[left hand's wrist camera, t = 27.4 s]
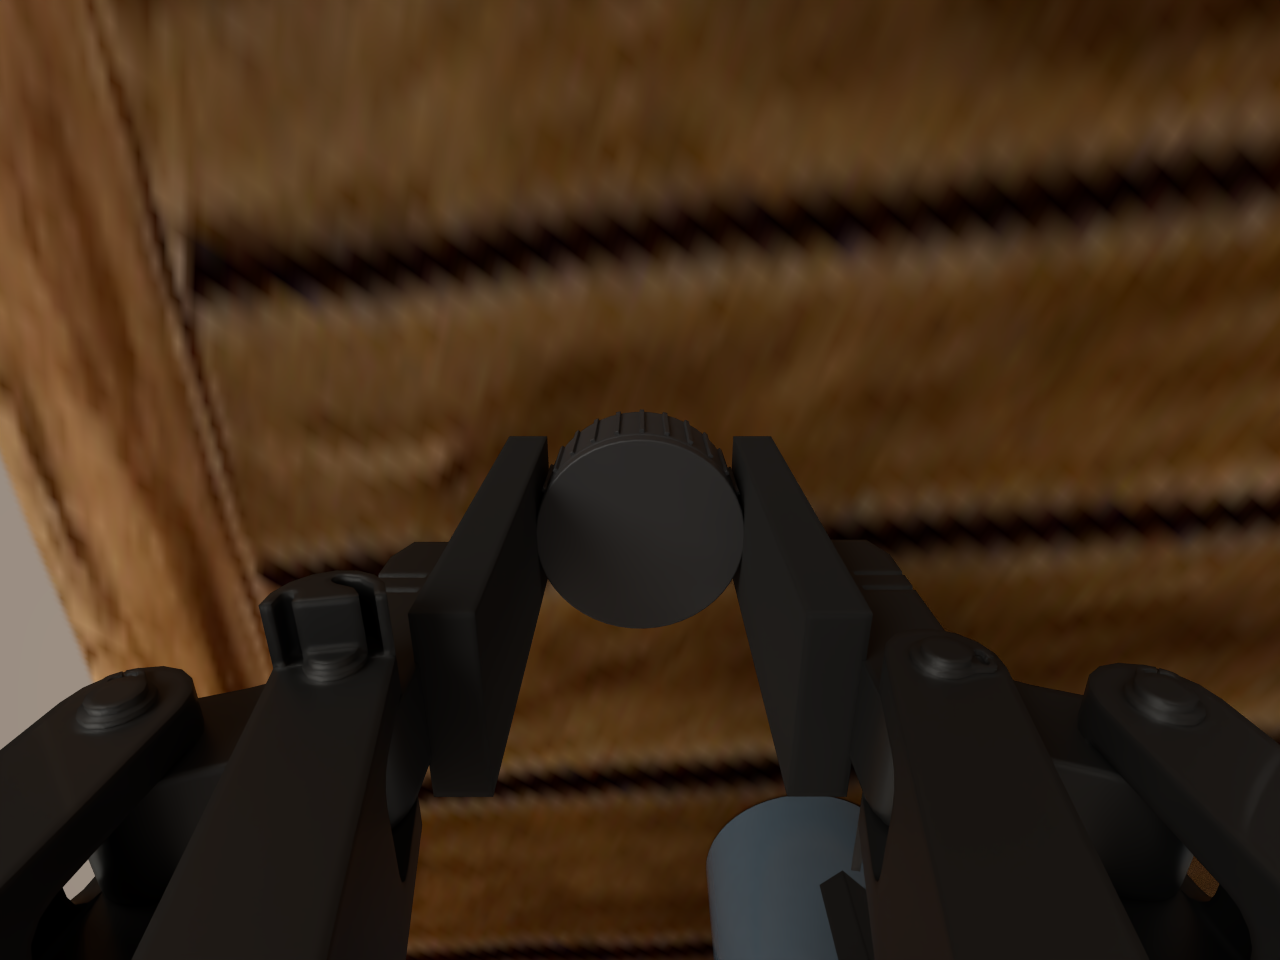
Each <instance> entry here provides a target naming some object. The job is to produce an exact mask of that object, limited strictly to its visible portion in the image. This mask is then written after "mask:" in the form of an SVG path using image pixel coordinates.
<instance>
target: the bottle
mask: <svg viewBox="0 0 1280 960" xmlns="http://www.w3.org/2000/svg"><path fill="white" fill-rule="evenodd" d="M859 813H860V807H859V806H857V805H855V804H853V803H851V802H848V801H845V800H842V799H838V798H835V797H787V796H785V797H779V798H775V799H771V800H768V801H765V802H762V803H760V804H757V805H755V806H753V807H751V808H749V809H747V810H745V811H744V812H742V813H740V814H739V815H737V816H736V817H735V818H733V819H732V820H731V821H730V822H729V823H727V824H726V826H725V827H724V828H723V829H722V830H721V831H720V832H719V834H718V835H717V837H716V838H715V839H714V841H713V844H712V846H711V848H710V850H709V854H708V857H707V863H706V874H707V886H708V898H709V909H710V921H711V932H712V944H713V956H714V960H838V957H837V953H836V949H835V945H834V941H833V937H832V933H831V929H830V925H829V921H828V917H827V913H826V909H825V905H824V901H823V897H822V893H821V889H820V884H822V883H823V882H825V881H826V880H828V879H830V878H831V877H833V876H834V875H836V874H837V873H839V872H841V871H842V870H843V871H844V872H845V873H847V874H848V875H849V876H850V877H851V878H853V879H854V880H855V881H856V882H857V883H859V884H860V885H861V886H862V887H863V888H865V889H866V886H865V877H864V869H863V861H862V864H861V870H860V872H859V871H853V870H851V866H852V858H853V851H854V845H855V838H856V832H857V826H858V819H859Z"/></svg>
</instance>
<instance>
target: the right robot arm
mask: <svg viewBox="0 0 1280 960" xmlns="http://www.w3.org/2000/svg"><path fill="white" fill-rule="evenodd" d="M820 889H821V893H822V897H823V901H824V905H825V909H826V913H827V917H828V921H829V925H830V929H831V933H832V937H833V941H834V945H835V949H836V953H837V957H838V960H875V959H874V951H873V943H872V935H871V926H870V918H869V910H868V902H867V894H866V889H865V888H863V887H862V886H861V885H860V884H859V883H857V882H856V881H855V880H854V879H853V878H851V877H850V876H849V875H848V874H847V873H845V872H844V871H843V870H842V871H841V872H839V873H837V874H836V875H834V876H833V877H831V878H830V879H828V880H826V881H825V882H823V883H822V884H820Z"/></svg>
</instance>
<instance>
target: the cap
mask: <svg viewBox="0 0 1280 960" xmlns="http://www.w3.org/2000/svg"><path fill="white" fill-rule="evenodd" d="M541 492H543V493H544V495H543V498H542V501H541V504H540V507H539V511H538V514H537V519H536V528H537V545H538V557H539V560H540V563H541V566H542V568H543V570H544V572H545V574H546V576H547V578H548V580H549V581H550V582H551V584H552V585H553V587H554V588H555V589H556V591H557V592H558V593H559V594H560V595H561V596H562V597H563V598H564V599H565V600H566V601H567V602H568V603H569V604H571V605H572V606H573V607H575V608H576V609H578V610H579V611H580V612H582V613H584V614H586V615H588V616H589V617H591V618H593V619H596V620H598V621H601V622H604V623H607V624H611V625H615V626H619V627H626V628H655V627H661V626H666V625H670V624H673V623H676V622H679V621H682V620H685V619H687V618H689V617H691V616H693V615H695V614H697V613H698V612H700V611H702V610H703V609H705V608H706V607H707V606H708V605H710V604H711V603H712V602H714V601H715V600H716V599H717V598H718V597H719V596H720V595H721V594H722V592H723V591H724V590H725V589H726V587H727V586H728V585H729V583H730V582H731V580H732V579H733V577H734V575H735V573H736V571H737V569H738V567H739V564H740V562H741V559H742V552H743V537H744V517H743V512H742V508H741V505H740V502H739V499H738V497H737V496H738V495H740V492H739V489H738V486H737V484H736V481H735V478H734V475H733V472H732V470H731V467H728V468H727V465H726V462H725V459H724V456H723V453H722V450H721V449H720V448H719V449H716V447H715V446H714V445H713V444H712V443H711V442H710V441H709V439H708V435H707V434H706V433H705V432H704V433H703V434H702V433H700V432H699V431H698V430H697V429H695V428H694V427H692V426H690V425H689V421H687V420H685V421H684V422H683V421H680V420H678V419H676V418H673V417H670V416H667V413H665V412H663V414H657V413H650V412H644V410H640V412H632V413H623V414H621V412H616V415H614V416H610V417H608V418H605V419H602V420H600V421H599V419H596V420H595V421H594V424H592V425H590V426H588V427H587V428H585V429H584V430H583V431H581V432H580V431H579V430H578V431H577V432H576V433H575V436H574V438H573V439H572V440H571V441H570V442H569V443H568V444H567V445H566V447H564V446H562V447H561V448H560V451H559V454H558V457H557V460H556V462H555V464H554V465H552V464H551V466H550V468H549V471H548V474H547V477H546V480H545V482H544V485H543V488H542V491H541Z"/></svg>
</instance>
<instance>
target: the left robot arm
mask: <svg viewBox="0 0 1280 960" xmlns="http://www.w3.org/2000/svg"><path fill="white" fill-rule="evenodd" d="M548 471H549V465H548V446H547V436H510V437H509V438H508V440H507V442H506V444H505V445H504V447H503V449H502V450H501V452H500V454H499V456H498V457H497V459H496V461H495V463H494V464H493V466H492V468H491V470H490V471H489V473H488V475H487V477H486V478H485V480H484V482H483V483H482V485H481V487H480V489H479V490H478V492H477V494H476V496H475V497H474V499H473V501H472V503H471V504H470V506H469V508H468V510H467V511H466V513H465V515H464V516H463V518H462V520H461V522H460V523H459V525H458V527H457V529H456V530H455V532H454V534H453V536H452V537H451V539H450V541H449V542H414V543H412V544H411V545H409V546H408V547H406V548H404V549H403V550H401V551H400V552H398V553H397V554H395V555H393V556H392V557H391V558H390V559H389V561H388V562H387V564H386V565H385V566H384V568H383V569H382V571H381V572H380V573H379V578H378V577H377V576H376V575H373V574H369V573H365V572H361V571H331V572H325V573H319V574H314V575H310V576H307V577H304V578H301V579H298V580H295V581H292V582H290V583H288V584H286V585H284V586H282V587H281V588H279V589H277V590H275V591H274V592H272V593H270V594H269V595H268V596H267V597H266V598H265V599H264V600H263V602H262V603H261V604H260V605H259V609H260V613H261V618H262V622H263V626H264V630H265V635H266V639H267V643H268V647H269V652H270V656H271V660H272V664H273V671H272V673H271V675H270V677H269V679H268V681H267V683H266V684H263V685H260V686H256V687H252V688H248V689H243V690H238V691H232V692H227V693H222V694H217V695H212V696H207V697H202V698H198V697H197V693H196V690H195V686H194V683H193V680H192V678H191V677H190V676H189V675H188V674H187V673H185V672H184V671H183V670H182V669H176V668H171V667H165V666H159V667H147V668H136V669H131V670H126V672H119V673H115V674H112V675H109V676H107V677H105V678H104V679H102V680H100V681H97V682H95V683H93V684H90V685H88V686H86V687H84V688H82V689H80V690H79V691H77V692H76V693H74V694H73V695H71V696H69V697H68V698H66V699H65V700H63V701H62V702H60V703H59V704H57V705H56V706H55V707H54V708H52V709H51V710H50V711H49V712H47V713H46V714H45V715H44V716H42V717H41V718H40V719H39V720H37V721H36V722H35V723H34V724H33V725H31V726H30V727H29V728H27V729H26V730H25V731H24V732H22V733H21V734H20V735H19V736H17V737H16V738H15V739H14V740H12V741H11V742H10V743H9V744H7V745H6V746H5V747H4V748H2V749H1V750H0V960H406V953H407V944H408V936H409V928H410V920H411V912H412V903H413V895H414V887H415V879H416V871H417V863H418V854H419V846H420V838H421V830H422V820H421V813H420V806H419V800H418V793H419V790H420V788H421V785H422V782H423V780H424V777H425V774H426V772H427V769H428V767H429V766H430V773H431V780H432V787H433V794H434V797H493V795H494V791H495V787H496V783H497V779H498V775H499V771H500V767H501V763H502V759H503V755H504V751H505V747H506V743H507V739H508V735H509V731H510V727H511V723H512V719H513V715H514V711H515V707H516V703H517V699H518V695H519V691H520V687H521V683H522V679H523V675H524V671H525V667H526V663H527V659H528V655H529V651H530V647H531V643H532V639H533V635H534V631H535V627H536V623H537V619H538V615H539V611H540V607H541V603H542V599H543V595H544V591H545V587H546V583H547V579H548V578H547V576H546V574H545V572H544V570H543V568H542V566H541V563H540V560H539V557H538V545H537V528H536V519H537V514H538V511H539V507H540V504H541V501H542V498H543V495H544V493H543V492H541V491H542V488H543V485H544V482H545V480H546V477H547V474H548ZM732 472H733V475H734V478H735V481H736V484H737V486H738V489H739V492H740V495H738V496H737V497H738V499H739V502H740V505H741V508H742V512H743V517H744V537H743V552H742V559H741V562H740V564H739V567H738V569H737V571H736V573H735V575H734V577H733V581H734V585H735V589H736V593H737V597H738V601H739V605H740V609H741V613H742V617H743V621H744V625H745V629H746V633H747V637H748V641H749V645H750V649H751V653H752V657H753V661H754V665H755V669H756V673H757V677H758V681H759V685H760V689H761V693H762V697H763V701H764V705H765V709H766V713H767V717H768V721H769V725H770V729H771V733H772V737H773V741H774V745H775V749H776V753H777V757H778V761H779V765H780V769H781V773H782V777H783V781H784V785H785V789H786V793H787V797H847V790H848V783H849V776H850V769H851V762H852V764H853V767H854V770H855V772H856V775H857V777H858V780H859V783H860V785H861V788H862V790H863V793H862V800H861V806H860V813H859V819H858V826H857V832H856V838H855V845H854V851H853V858H852V866H851V870H853V871H859V872H860V870H861V864H862V861H863V869H864V877H865V886H866V894H867V902H868V910H869V918H870V926H871V935H872V943H873V951H874V959H875V960H1280V745H1279V744H1278V743H1277V742H1275V741H1274V740H1273V739H1272V738H1270V737H1269V736H1268V735H1267V734H1265V733H1264V732H1263V731H1262V730H1260V729H1259V728H1258V727H1257V726H1255V725H1254V724H1253V723H1251V722H1250V721H1249V720H1248V719H1246V718H1245V717H1244V716H1243V715H1241V714H1240V713H1239V712H1238V711H1236V710H1235V709H1234V708H1233V707H1231V706H1230V705H1229V704H1227V703H1226V702H1225V701H1224V700H1222V699H1221V698H1219V697H1218V696H1216V695H1215V694H1213V693H1211V692H1210V691H1208V690H1207V689H1205V688H1204V687H1202V686H1200V685H1199V684H1197V683H1194V682H1192V681H1190V680H1187V679H1185V678H1183V677H1180V676H1178V675H1177V674H1176V673H1173V672H1170V671H1167V670H1164V669H1161V668H1159V669H1156V667H1152V666H1147V665H1136V664H1124V663H1115V664H1110V665H1104V666H1099V667H1098V668H1097V669H1096V670H1095V671H1094V672H1092V673H1091V674H1090V675H1089V678H1088V682H1087V685H1086V689H1085V692H1084V695H1079V694H1074V693H1069V692H1064V691H1059V690H1054V689H1049V688H1044V687H1039V686H1033V685H1029V684H1025V683H1022V682H1018V681H1014V680H1012V678H1011V676H1010V674H1009V672H1008V670H1007V668H1006V666H1005V665H1004V664H1003V663H1002V661H1001V660H1000V659H999V658H998V657H997V655H996V654H995V653H993V652H992V651H990V650H989V649H987V648H986V647H984V646H983V645H981V644H980V643H978V642H976V641H973V640H971V639H968V638H966V637H963V636H961V635H958V634H956V633H951V632H946V631H945V630H944V629H943V628H942V626H941V625H940V624H939V622H938V621H937V619H936V618H935V617H934V615H933V614H932V612H931V611H930V610H929V608H928V607H927V606H926V604H925V603H924V601H923V600H922V599H921V597H920V596H919V595H918V593H917V592H916V590H913V589H912V585H911V583H910V582H909V581H908V579H907V578H906V577H905V575H902V571H901V570H900V568H899V567H898V565H897V564H896V563H895V561H894V560H893V559H892V557H891V556H890V554H888V553H886V552H885V551H883V550H882V549H880V548H878V547H877V546H875V545H874V544H872V543H871V542H869V541H867V540H830V538H829V536H828V535H827V533H826V531H825V529H824V528H823V526H822V524H821V523H820V521H819V519H818V517H817V516H816V514H815V512H814V510H813V509H812V507H811V505H810V503H809V502H808V500H807V498H806V497H805V495H804V493H803V491H802V490H801V488H800V486H799V484H798V483H797V481H796V479H795V477H794V476H793V474H792V472H791V470H790V469H789V467H788V465H787V464H786V462H785V460H784V458H783V457H782V455H781V453H780V451H779V450H778V448H777V446H776V444H775V443H774V441H773V439H772V437H771V436H733V455H732ZM1193 856H1195V857H1196V858H1197V860H1198V861H1199V862H1200V863H1201V864H1202V865H1203V866H1204V867H1205V868H1206V869H1207V870H1208V872H1209V873H1210V874H1211V875H1212V876H1213V877H1214V878H1215V879H1216V880H1217V881H1218V882H1219V887H1218V889H1217V891H1216V894H1215V895H1214V896H1213V897H1212V898H1211V897H1209V896H1208V895H1207V894H1206V893H1205V892H1203V891H1202V890H1201V889H1200V888H1199V887H1198V886H1197V885H1196V884H1195V883H1194V881H1193V880H1192V879H1191V878H1190V877H1189V876H1188V875H1187V871H1188V868H1189V866H1190V863H1191V861H1192V858H1193ZM88 859H89V862H90V864H91V867H92V869H93V872H94V874H95V877H94V878H93V879H92V881H91V882H90V883H89V884H88V885H87V886H86V887H85V889H84V890H82V891H81V892H80V893H79V894H78V895H76V896H75V897H74V898H73V899H72V900H69V899H68V898H67V897H66V894H65V892H64V890H63V886H64V885H65V884H66V883H67V882H68V881H69V880H70V879H71V878H72V876H73V875H74V874H75V873H76V872H77V871H78V870H79V869H80V868H81V867H82V865H83V864H84V863H85V862H86V861H87V860H88Z"/></svg>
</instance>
